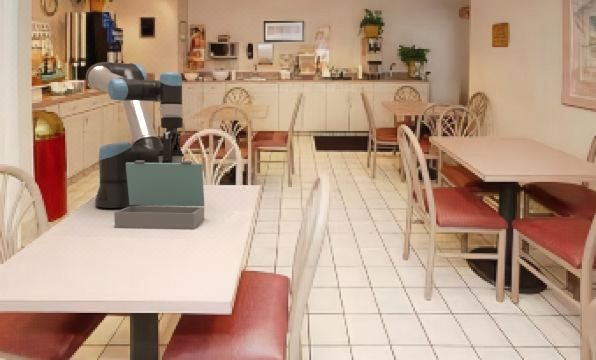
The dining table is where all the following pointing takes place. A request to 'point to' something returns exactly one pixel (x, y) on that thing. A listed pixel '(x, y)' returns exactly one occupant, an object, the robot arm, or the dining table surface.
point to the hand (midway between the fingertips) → (172, 181)
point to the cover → (165, 183)
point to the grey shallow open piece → (159, 217)
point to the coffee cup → (176, 156)
